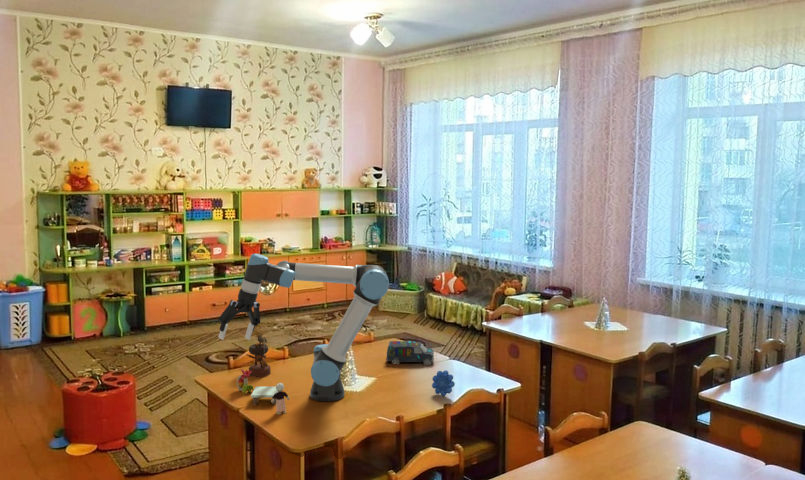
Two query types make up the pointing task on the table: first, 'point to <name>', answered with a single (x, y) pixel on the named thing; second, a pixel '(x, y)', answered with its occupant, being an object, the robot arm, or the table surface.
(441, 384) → the blue bumpy round piece
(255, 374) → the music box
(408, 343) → the toy van
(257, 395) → the miniature table
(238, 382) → the flower ornament
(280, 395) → the grandmother figurine
